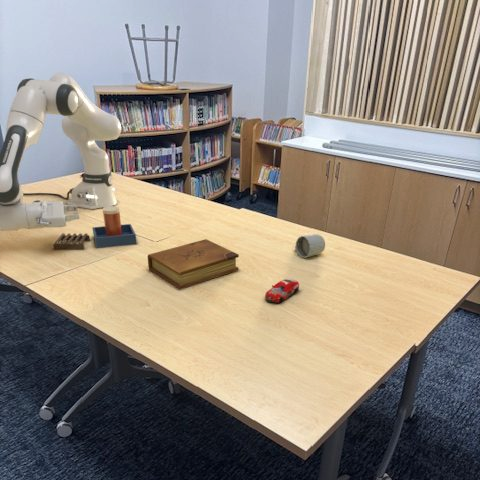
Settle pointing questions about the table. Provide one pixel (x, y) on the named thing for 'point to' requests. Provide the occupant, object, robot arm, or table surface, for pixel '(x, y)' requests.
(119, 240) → the tray
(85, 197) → the robot arm
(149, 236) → the table surface
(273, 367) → the table surface
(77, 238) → the drying rack
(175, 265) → the diary
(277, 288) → the race car
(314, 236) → the ceramic mug
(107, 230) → the cup
